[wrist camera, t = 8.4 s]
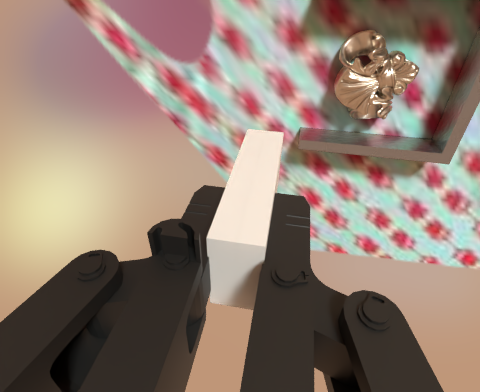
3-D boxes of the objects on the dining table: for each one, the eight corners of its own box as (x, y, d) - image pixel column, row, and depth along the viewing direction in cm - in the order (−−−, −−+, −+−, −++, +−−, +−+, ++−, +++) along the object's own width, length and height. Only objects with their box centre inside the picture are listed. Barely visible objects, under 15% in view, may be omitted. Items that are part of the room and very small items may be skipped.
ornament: (414, 104, 30) (426, 119, 27) (340, 123, 32) (343, 138, 29) (409, 13, 26) (422, 19, 23) (325, 42, 28) (326, 50, 25)
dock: (299, 136, 33) (298, 148, 31) (322, -24, 25) (323, -23, 23) (438, 149, 31) (449, 164, 29) (513, -19, 23) (537, -17, 21)
